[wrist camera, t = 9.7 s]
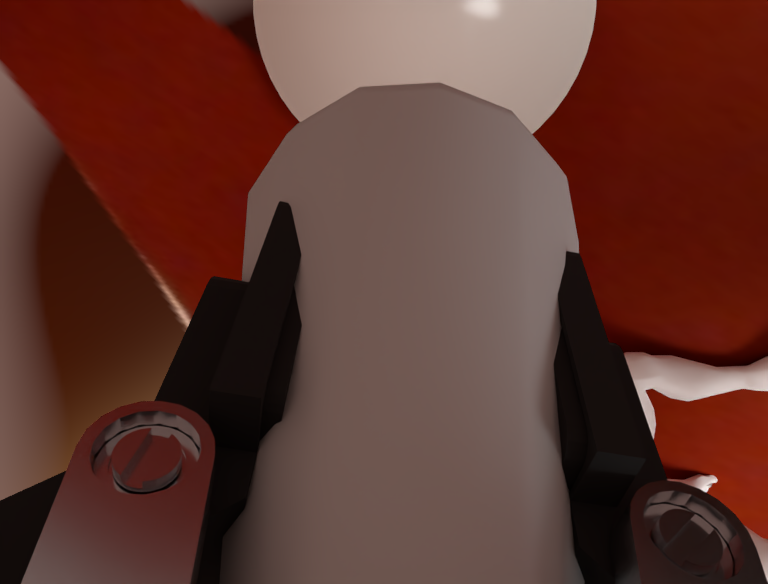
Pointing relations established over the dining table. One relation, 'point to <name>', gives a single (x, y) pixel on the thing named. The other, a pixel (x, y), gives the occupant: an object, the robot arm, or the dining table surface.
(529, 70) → the ceramic coaster
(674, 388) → the person figurine
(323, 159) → the salt shaker
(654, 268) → the dining table surface
